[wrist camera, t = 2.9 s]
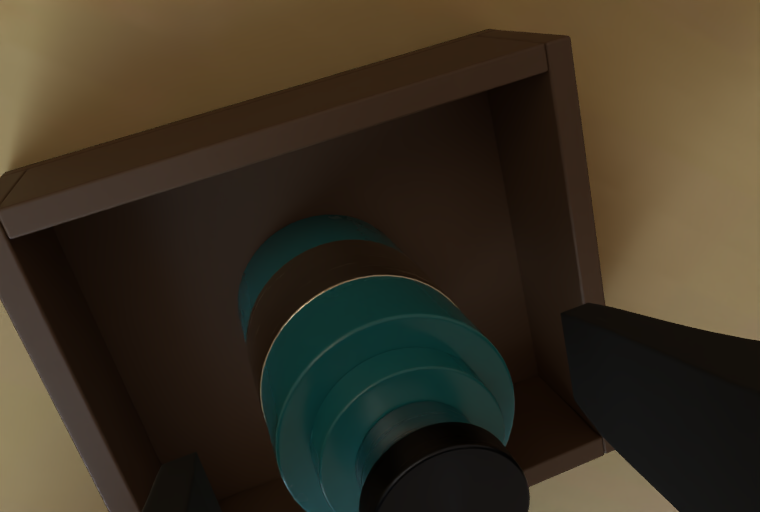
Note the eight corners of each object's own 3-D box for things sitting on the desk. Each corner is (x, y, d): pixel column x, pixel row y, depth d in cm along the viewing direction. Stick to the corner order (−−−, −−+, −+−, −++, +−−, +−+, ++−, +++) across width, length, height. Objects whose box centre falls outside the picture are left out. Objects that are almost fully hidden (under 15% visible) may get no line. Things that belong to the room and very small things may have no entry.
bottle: (267, 400, 19) (347, 688, 11) (210, 247, 18) (258, 457, 9) (424, 341, 20) (605, 569, 12) (386, 189, 18) (569, 336, 10)
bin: (170, 526, 20) (173, 639, 17) (2, 172, 16) (-42, 221, 13) (549, 375, 23) (625, 447, 19) (489, 28, 18) (571, 34, 15)
